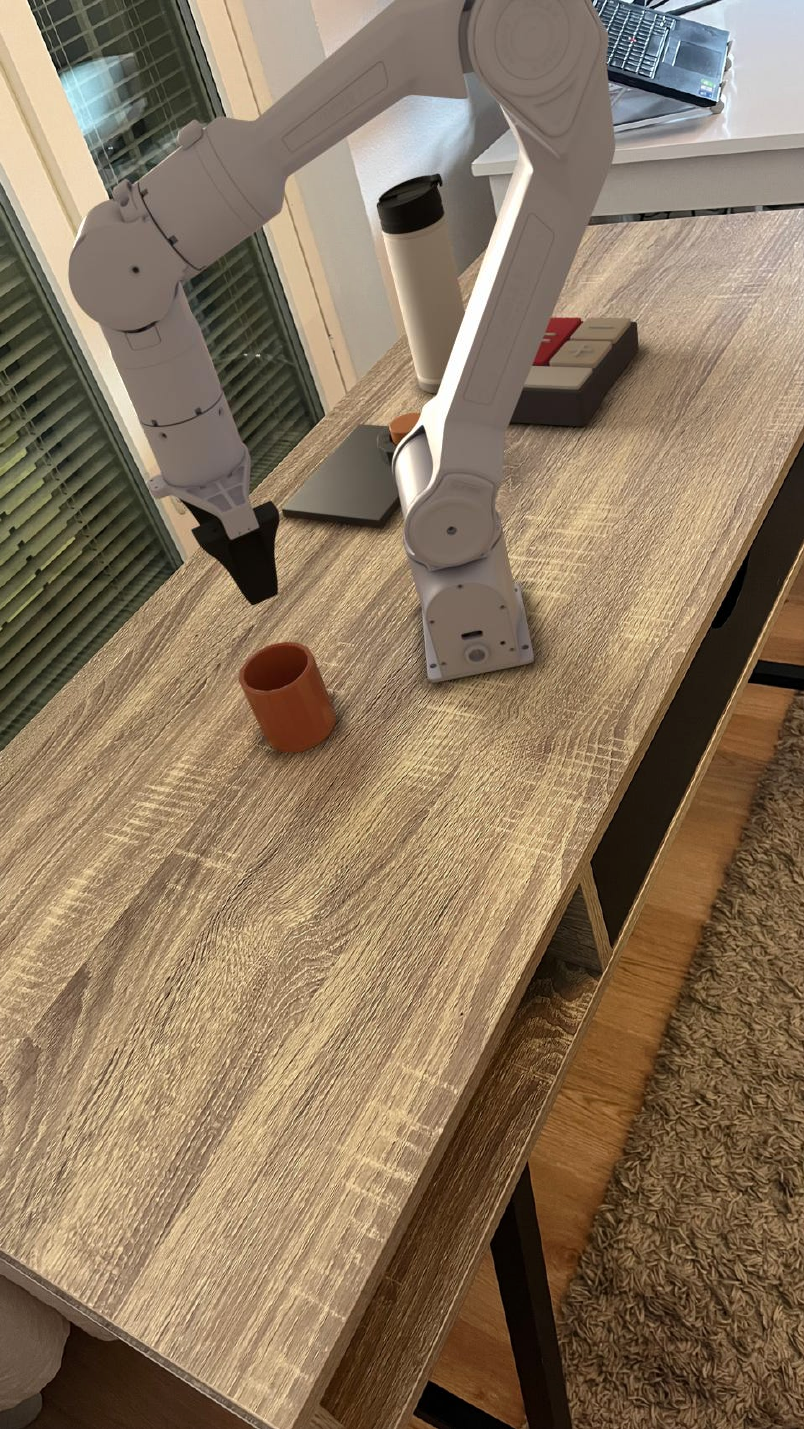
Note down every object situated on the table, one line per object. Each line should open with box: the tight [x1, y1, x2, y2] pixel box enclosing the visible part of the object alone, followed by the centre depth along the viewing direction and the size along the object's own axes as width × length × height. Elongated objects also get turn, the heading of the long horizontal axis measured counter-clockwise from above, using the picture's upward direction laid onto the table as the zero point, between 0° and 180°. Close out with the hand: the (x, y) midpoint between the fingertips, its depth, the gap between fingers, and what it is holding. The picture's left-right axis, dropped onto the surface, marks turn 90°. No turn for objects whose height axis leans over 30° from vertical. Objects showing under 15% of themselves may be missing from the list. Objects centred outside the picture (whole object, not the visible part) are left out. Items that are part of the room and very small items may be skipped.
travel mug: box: [376, 173, 466, 394], centre depth 107 cm, size 6×7×20 cm
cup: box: [238, 641, 337, 754], centre depth 78 cm, size 6×6×6 cm
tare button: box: [389, 412, 421, 446], centre depth 102 cm, size 4×4×2 cm
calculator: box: [509, 317, 640, 427], centre depth 106 cm, size 11×4×15 cm
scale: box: [281, 423, 401, 529], centre depth 103 cm, size 15×12×2 cm
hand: (247, 572), depth 78 cm, fingers open, 7 cm apart
